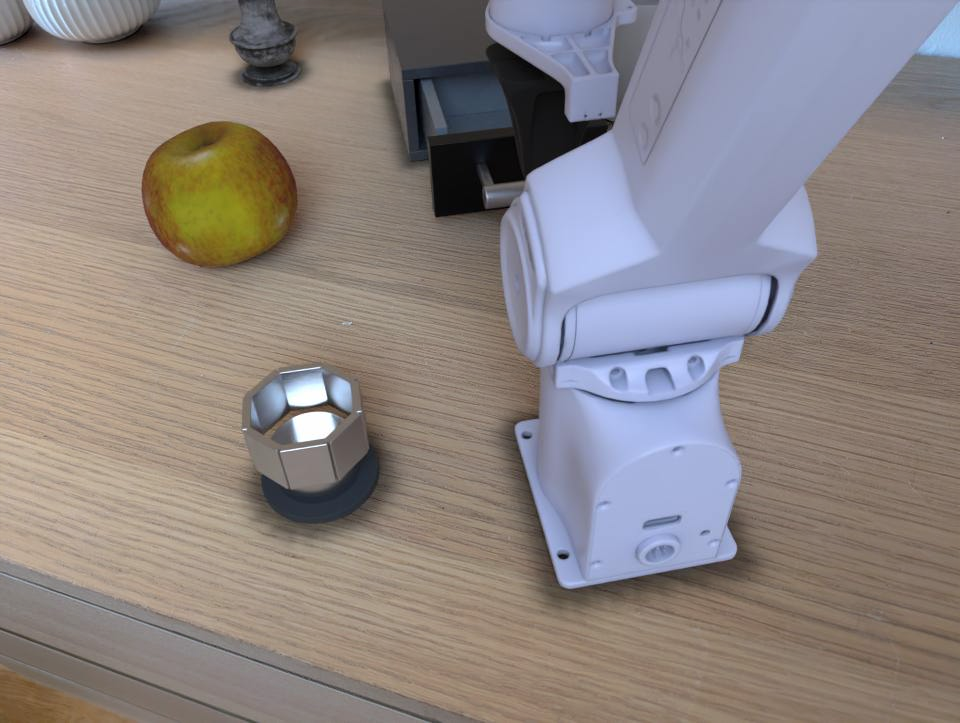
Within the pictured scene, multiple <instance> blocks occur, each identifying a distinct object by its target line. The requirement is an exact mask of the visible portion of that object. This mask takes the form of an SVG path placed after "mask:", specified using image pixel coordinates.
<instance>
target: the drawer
mask: <svg viewBox="0 0 960 723" xmlns="http://www.w3.org/2000/svg"><path fill="white" fill-rule="evenodd" d="M417 90H418V102H419V114H420V124H421V128H422V131H423V135H424V139H425V142H426V146H427V149H428V154H429V159H428V164H429V165H428V166H429V177H430V180H429V181H430V190H431V192H430V193H431V202H432V203H431V204H432V211H433V214H434V217H435V219H438V218H445V217H453V216H460V215H469V214H475V213H484V212H492V211H498V210H508V209H509V208H510V206H511V203H512V202H513V200H514V199H515V198H516V197H518V196H520V195H521V194H522V193H523V190H524V186H525V182H526V181H525V179H524V176H523V173H522V170H521V166H520V162H519V157H518V152H517V147H516V142H515V136H514V131H513V126H512V121H511V117H510V113H509V109H508V105H507V102H506V98H505V95H504V92H503V89H502V87H501V85H500V83H499V81H498V79H497V77H496V74H495V72H494V71H485V72H476V73H466V74H457V75H448V76H439V77H429V78H420V79H417ZM608 128H609V124H608V123H607V121H606V119H605V118H604V119H597V120H590V122H589V124H588V126H587V128H586V131H585V133H584V136H583V138H582V141H581V144H580V146H582V145H584V144H586V143H588V142H590V141H592V140H594V139H596V138H597V137H599V136H601V135H603V134H605V133H607V132H608Z"/></svg>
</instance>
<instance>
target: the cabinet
mask: <svg viewBox="0 0 960 723" xmlns="http://www.w3.org/2000/svg"><path fill="white" fill-rule="evenodd" d="M488 3H489V0H381V5H382V13H383V14H382V15H383V23H384V31H385V33H384V34H385V41H386V52H387V59H388V70H389V71H388V72H389V78H390V79H389V80H390V85H391V90H392V94H393V97H394V101H395V104H396V105H395V106H396V109H397V110H396V111H397V113H398V118H399V121H400V127H401V130H402V134H403V138H404V142H405V146H406V149H407V154H408V159H409V161H410V162H416V161H425V160H429V154H428V149H427V146H426V142H425V139H424V135H423V131H422V128H421V124H420V114H419V102H418V90H417V79H420V78H429V77H439V76H448V75H457V74H466V73H476V72H485V71H494V70H493V68H492V66H491V64H490V62H489V60H488V58H487V56H486V48H487V47H488V46H490V45H492V44H494V43H497V42H496V41H495V40H494V39H492V38H491V37H490V36H489V34H488V33H487V31H486V26H485V12H486V8H487V5H488Z"/></svg>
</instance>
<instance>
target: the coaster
mask: <svg viewBox="0 0 960 723" xmlns="http://www.w3.org/2000/svg"><path fill="white" fill-rule="evenodd" d="M368 443H369V450H368V453H367V454H366V455H365V456H364V457H363V458H362V459H361V460H360V471H359V474H358V477H357V479H356V480H355V482H354V483H353V485H352V486H351V487H350V488H349V489H348V490H347V491H346V492H344V493H343V494H342V495H340V496H338V497H336V498H334V499H332V500H329V501H326V502H321V503H303V502H298V501H296V500H293V499H291V498H289V497H288V496H287V495H285V494H284V493H283V492H282V491H281V489H280V488H279V486H278V483H277V482H275V481H273V480H272V479H270V478H268V477H267V476H265V475H263V474H262V473H261V476H260V478H261V479H260V483H261V489H262V493H263V495H264V498H265V500H266V502H267V504H268V505H269V507H270V508H271V509H272V510H273V511H274V512H275V513H277V514H278V515H279V516H281V517H283V518H285V519H287V520H289V521H292V522H295V523H299V524H306V525H307V524H308V525H313V524H315V525H316V524H325V523H329V522H333V521H337V520H339V519H341V518H344V517H346V516H348V515H350V514H351V513H353V512H355V511H356V510H357V509H359V508H360V507H361V506H363V504H365V503H366V502H367V501H368V499H369V498H370V497H371V496H372V494H373V492H374V491H375V489H376V487H377V484H378V480H379V476H380V464H379V459H378V455H377V452H376V450H375V448H374V447H373V444H371V443H370V442H369V441H368Z"/></svg>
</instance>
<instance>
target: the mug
mask: <svg viewBox="0 0 960 723" xmlns="http://www.w3.org/2000/svg"><path fill="white" fill-rule="evenodd" d="M631 1H632V2H633V3H634V4H635V5H636V6H637V18H636V22H635V23H633V24H630V25H622V26H618V27H617V28H616V29H615V39H614V48H613V64H614V67H615V68H616V70H617V72H618V73H619V81H618V92H617V103H616V113H615V117H612V118H604V119H605V120H608V121H611V122H613V123H615V120H616V117H617V114H618V112H619V109H620V106H621V104H622V101H623V98H624V96H625V93H626V90H627V88H628V85H629V82H630V80H631V77H632V74H633V71H634V69H635V66H636V63H637V61H638V58H639V55H640V53H641V50H642V47H643V45H644V42H645V39H646V36H647V34H648V31H649V28H650V26H651V23H652V20H653V18H654V15H655V12H656V10H657V7H658V4H659V2H660V0H631Z"/></svg>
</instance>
